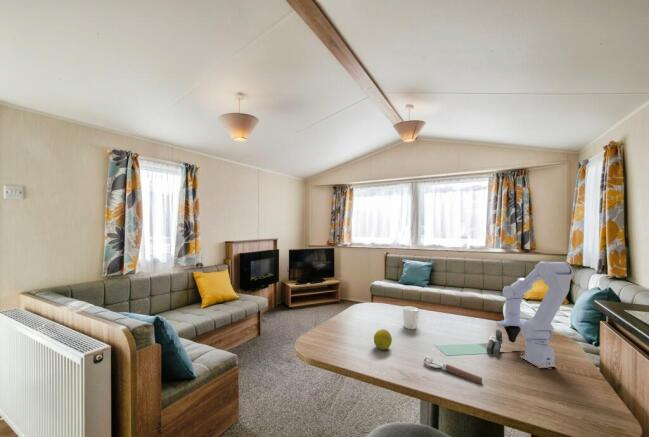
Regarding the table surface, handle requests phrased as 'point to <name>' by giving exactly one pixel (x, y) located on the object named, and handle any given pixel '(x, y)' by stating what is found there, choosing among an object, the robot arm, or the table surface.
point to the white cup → (410, 317)
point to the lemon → (382, 339)
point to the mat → (464, 349)
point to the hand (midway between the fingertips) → (511, 341)
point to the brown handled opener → (453, 370)
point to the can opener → (497, 341)
